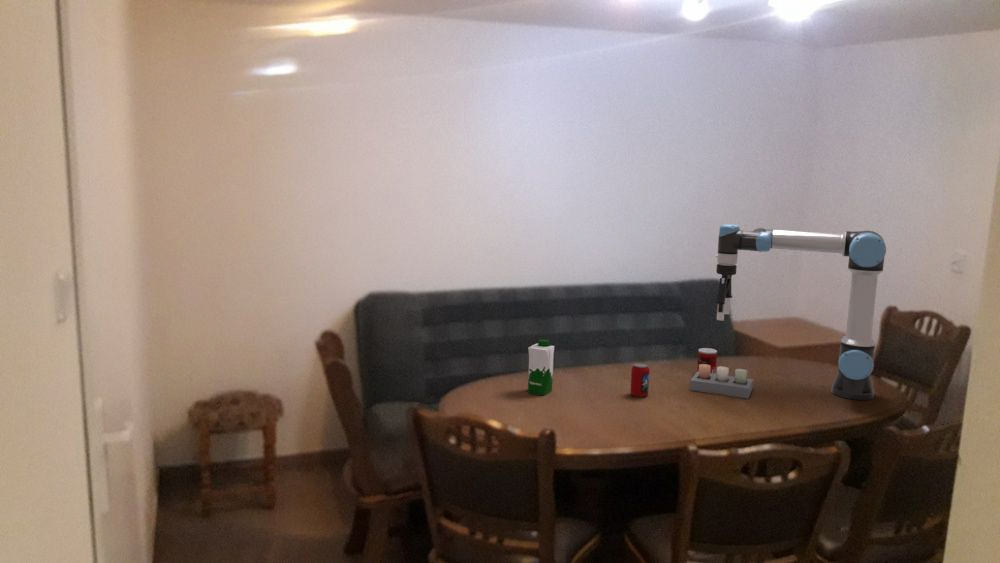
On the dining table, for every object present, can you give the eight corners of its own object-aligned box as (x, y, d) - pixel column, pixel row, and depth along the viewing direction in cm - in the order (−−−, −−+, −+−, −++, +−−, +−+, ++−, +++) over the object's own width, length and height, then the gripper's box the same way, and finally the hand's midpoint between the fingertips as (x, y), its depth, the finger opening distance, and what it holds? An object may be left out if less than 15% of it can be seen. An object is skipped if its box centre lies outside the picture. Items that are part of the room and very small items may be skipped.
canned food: (713, 373, 329) (715, 348, 327) (717, 378, 321) (718, 353, 319) (695, 372, 329) (697, 347, 328) (698, 377, 321) (699, 352, 320)
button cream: (728, 379, 307) (729, 367, 306) (726, 382, 303) (727, 370, 302) (717, 378, 308) (718, 365, 308) (715, 380, 304) (716, 368, 304)
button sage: (746, 382, 304) (747, 369, 303) (745, 385, 300) (746, 372, 299) (735, 380, 305) (736, 368, 305) (733, 383, 302) (734, 371, 301)
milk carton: (555, 390, 300) (556, 340, 296) (545, 397, 292) (547, 345, 288) (534, 387, 304) (536, 337, 300) (524, 393, 296) (525, 342, 292)
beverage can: (648, 398, 293) (649, 367, 291) (630, 397, 294) (631, 366, 292) (648, 393, 299) (650, 363, 297) (630, 391, 301) (632, 361, 299)
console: (752, 388, 308) (753, 379, 307) (747, 398, 295) (748, 388, 295) (696, 381, 317) (697, 371, 316) (689, 390, 304) (690, 380, 304)
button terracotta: (710, 377, 309) (711, 365, 309) (708, 379, 305) (709, 367, 305) (699, 375, 311) (700, 363, 310) (697, 378, 307) (698, 366, 306)
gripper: (722, 259, 317) (718, 310, 320) (711, 267, 294) (707, 321, 298) (741, 261, 314) (737, 312, 317) (731, 268, 291) (727, 324, 295)
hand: (723, 317), depth 307 cm, fingers open, 13 cm apart
